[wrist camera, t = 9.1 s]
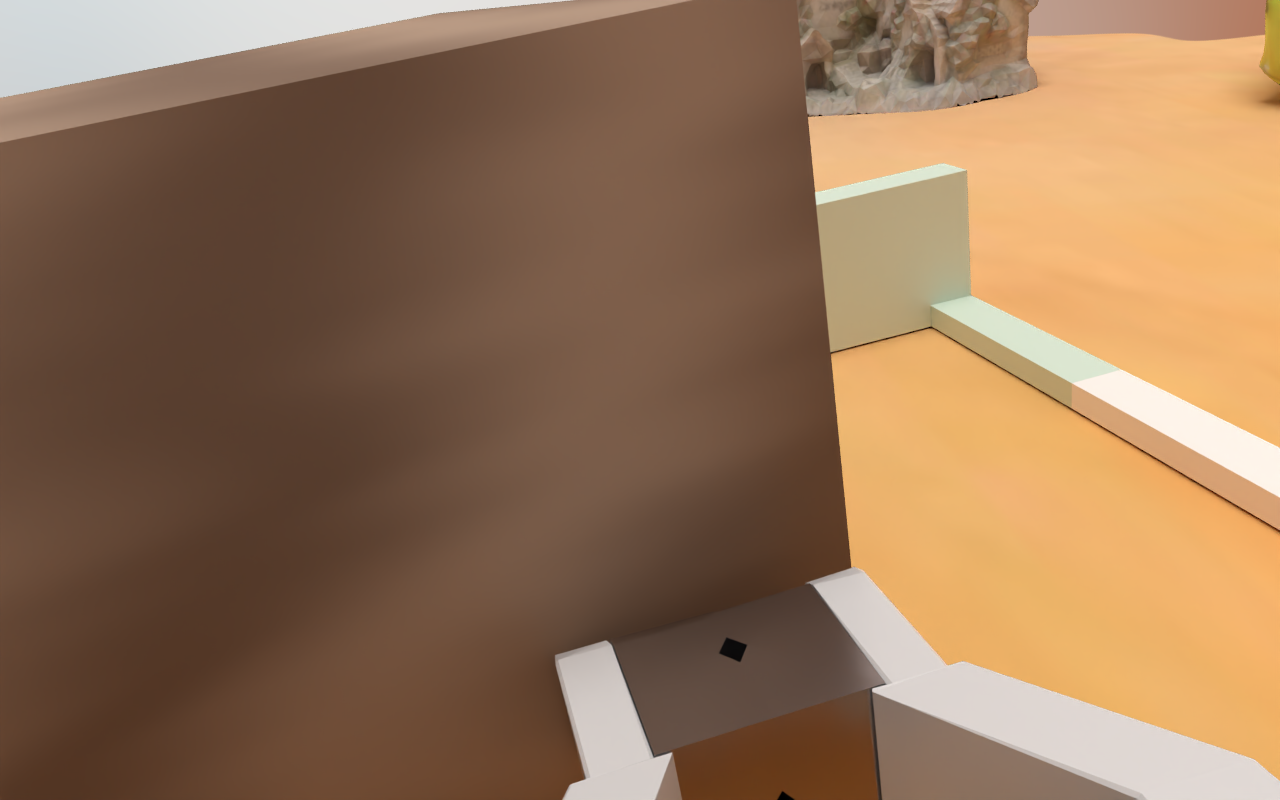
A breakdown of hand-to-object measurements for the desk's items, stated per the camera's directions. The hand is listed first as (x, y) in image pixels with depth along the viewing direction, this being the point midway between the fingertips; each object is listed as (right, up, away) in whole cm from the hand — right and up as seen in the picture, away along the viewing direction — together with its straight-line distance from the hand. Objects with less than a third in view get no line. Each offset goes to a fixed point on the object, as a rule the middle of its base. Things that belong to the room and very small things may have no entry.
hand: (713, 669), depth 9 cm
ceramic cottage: (+15, +21, +52) cm, 58 cm away
